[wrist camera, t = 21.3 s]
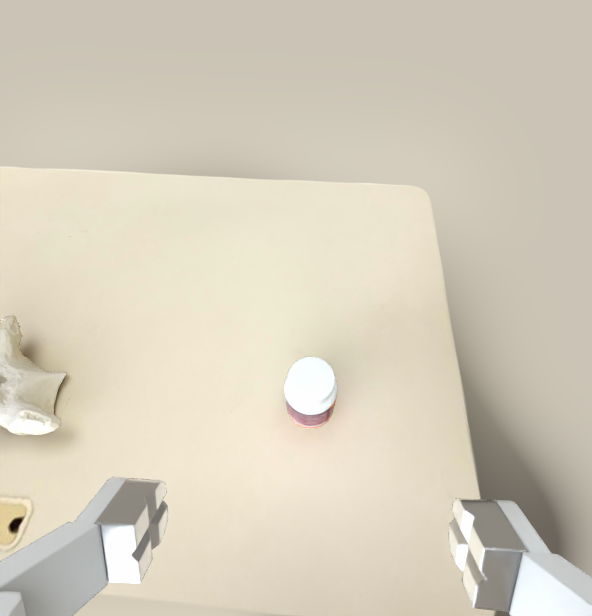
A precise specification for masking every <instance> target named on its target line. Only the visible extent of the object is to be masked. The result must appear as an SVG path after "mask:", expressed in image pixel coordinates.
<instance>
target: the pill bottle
mask: <svg viewBox="0 0 592 616" xmlns="http://www.w3.org/2000/svg"><path fill="white" fill-rule="evenodd" d="M284 392H285V398H286V404H287V410H288V414H289V416H290V418H291V419H292V421H293V422H294V423H295V424H297V425H298V426H300V427H302V428H305V429H316V428H319V427H321V426H323V425H324V424H325V423H327V421H328V420H329V419H330V417H331V415H332V412H333V408H334V405H335V400H336V396H337V382H336V379H335V375H334V372H333V370H332V368H331V366H330V365H329V364H328V363H327V362H326V361H324V360H322V359H320V358H317V357H305V358H302V359H300V360H298V361H296V362H295V363H294V364H293V365H292V367H291V368H290V370H289V373H288V376H287V378H286V380H285V383H284Z"/></svg>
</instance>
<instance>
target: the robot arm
mask: <svg viewBox="0 0 592 616" xmlns="http://www.w3.org/2000/svg"><path fill="white" fill-rule="evenodd" d="M166 493H167V491H166V483H165V482H164V481H160V480H148V479H137V478H121V477H112V478H110V479H108V480H107V481H106V483H105V484H104V485H103V486H102V488H101V489H100V490H99V491H98V493H97V494H96V495H95V496H94V498H93V499H92V500H91V501H90V503H89V504H88V505H87V506H86V508H85V509H84V510H83V511H82V513H81V514H80V515H79V516H78V518H77V519H76V520H75V521H74V522H68V523H66V524H64V525H62V526H61V527H59V528H57V529H55V530H54V531H52V532H50V533H48V534H47V535H45V536H43V537H42V538H40V539H38V540H36V541H35V542H33V543H31V544H29V545H28V546H26V547H24V548H22V549H21V550H19V551H17V552H16V553H14V554H12V555H10V556H9V557H7V558H5V559H3V560H2V561H0V616H73V615H74V614H76V612H78V611H79V610H80V609H81V608H82V607H83V606H84V605H85V604H86V603H88V602H89V601H90V600H91V599H92V598H93V597H94V596H95V595H96V594H98V593H99V592H100V591H101V590H102V589H103V588H104V587H105V586H106V585H107V584H108V582H117V583H141V582H142V580H143V577H144V575H145V573H146V571H147V569H148V567H149V565H150V563H151V561H152V549H154V548H155V547H156V546H157V545H159V544H160V542H161V540H162V538H163V536H164V533H165V529H166V526H167V521H168V506H167V504H166V503H165V502H164V501H163V499H164V497H165V495H166ZM452 512H453V514H454V516H455V519H454V520H453V521H452V522H451V523H450V524H449V532H448V536H449V546H450V550H451V554H452V557H453V559H454V562H455V564H456V565H457V566H458V567H459V568H460V569H461V570H462V571H463V578H462V582H463V585H464V587H465V589H466V592H467V594H468V597H469V599H470V602H471V604H472V607H473V608H477V609H486V610H496V611H505V612H509V614H510V615H511V616H592V578H591V577H589V576H588V575H587V574H585V573H584V572H583V571H581V570H580V569H578V568H577V567H575V566H574V565H572V564H571V563H569V562H568V561H567V560H565V559H564V558H562V557H561V556H560V555H558V554H552V553H551V552H550V551H549V549H548V548H547V546H546V545H545V544H544V542H543V541H542V539H541V538H540V537H539V535H538V534H537V532H536V531H535V529H534V528H533V527H532V525H531V524H530V522H529V521H528V520H527V518H526V517H525V515H524V514H523V512H522V511H521V510H520V508H519V507H518V505H517V504H516V503H514V502H513V501H508V500H480V499H461V498H455V500H454V502H453V505H452Z"/></svg>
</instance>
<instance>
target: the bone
mask: <svg viewBox="0 0 592 616" xmlns="http://www.w3.org/2000/svg"><path fill="white" fill-rule="evenodd" d="M21 337H22V333H21V332H20V326H19V323H18V322H17V319H16V317H15V316H13V315H12V316H7V317H5V318H3V319H2V320H0V383H2V384H1V386H0V424H1V426H2V427H4V428H6V429H8V430H9V432H11V433H14V434H17V435H25V434H32V435H42V434H46V433H49V432H52V431H54V430H56V429H58V428H59V427H60V426H61V419H60V418H59V417H57V416H56V415H54V403H55V400H56V395H57V391H58V389H59V386H60V384H61V383H62V381H63V379H64V377H65V376H66V372H64V373H51V372H48V371H45V370H42V369H41V368H39V367H38V366H36V365H35V364H34V363H33V362H32V361H31V360H30V359H28V358H26V357H25V356H23V354H22V353H21V351H20V349H19V346H20V341H21Z"/></svg>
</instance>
